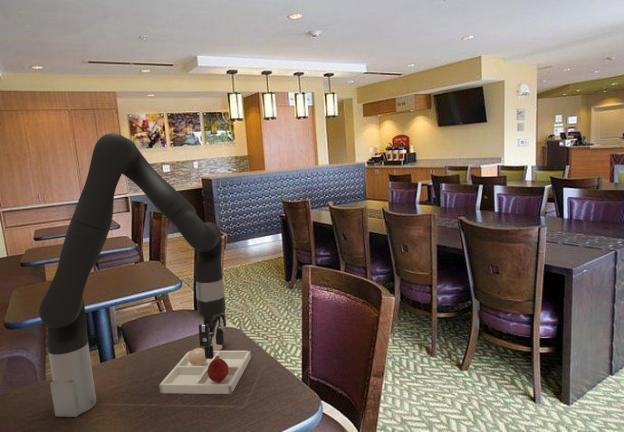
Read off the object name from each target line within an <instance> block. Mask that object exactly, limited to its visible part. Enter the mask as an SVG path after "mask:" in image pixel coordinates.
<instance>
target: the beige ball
mask: <svg viewBox="0 0 624 432" xmlns="http://www.w3.org/2000/svg"><path fill="white" fill-rule="evenodd" d="M191 351H192V352H191V353H190V355H189V362H190V363H191V365H193V366H203V365H204V364H205V363H206V361H207V359H206V358H205V349H204V348H203V347H197V348H194V349H192V350H191Z"/></svg>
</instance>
